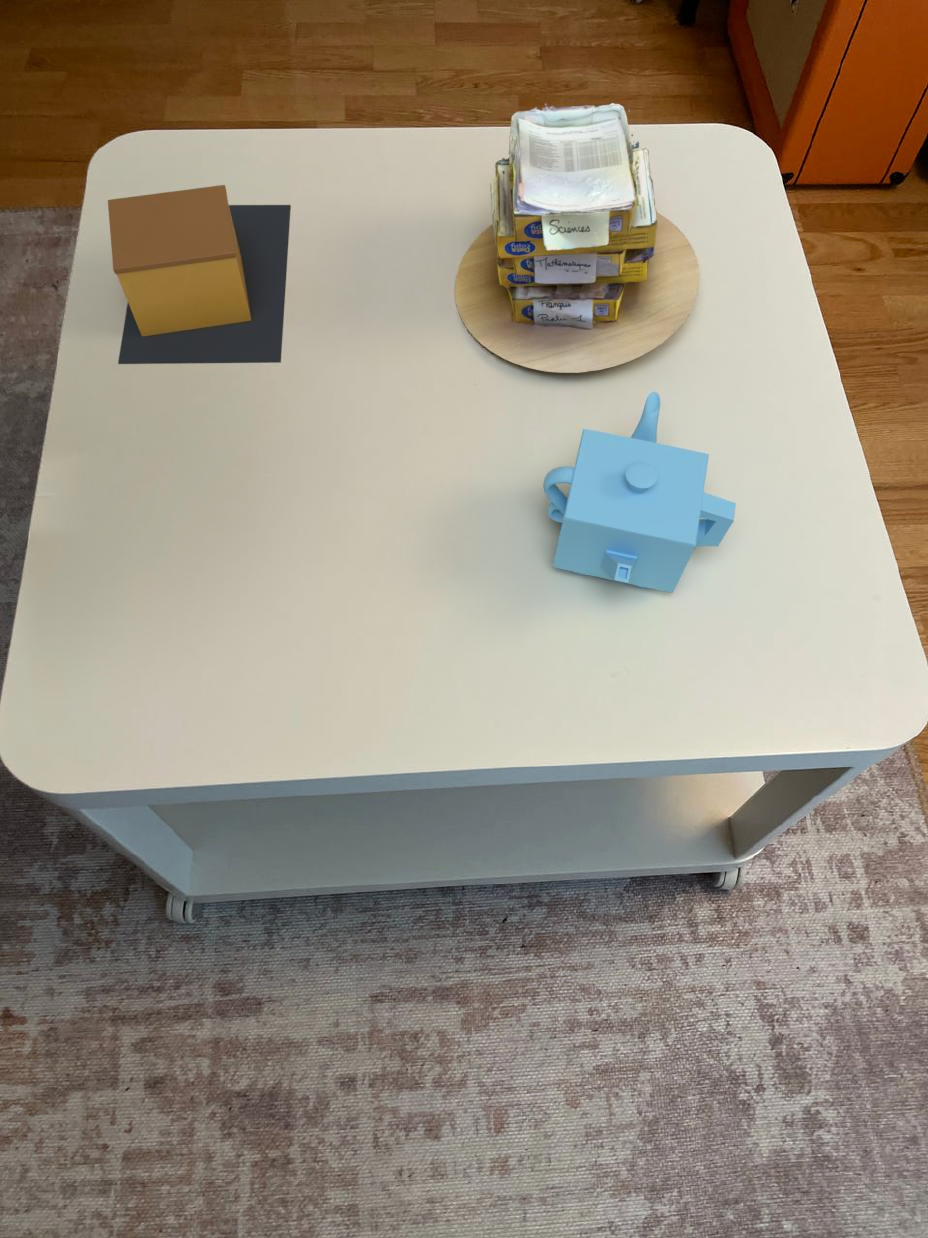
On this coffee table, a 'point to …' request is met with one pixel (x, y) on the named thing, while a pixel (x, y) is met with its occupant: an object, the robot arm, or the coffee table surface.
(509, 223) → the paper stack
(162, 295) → the toy box
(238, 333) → the mat
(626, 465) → the teapot
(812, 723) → the coffee table surface
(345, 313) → the coffee table surface
